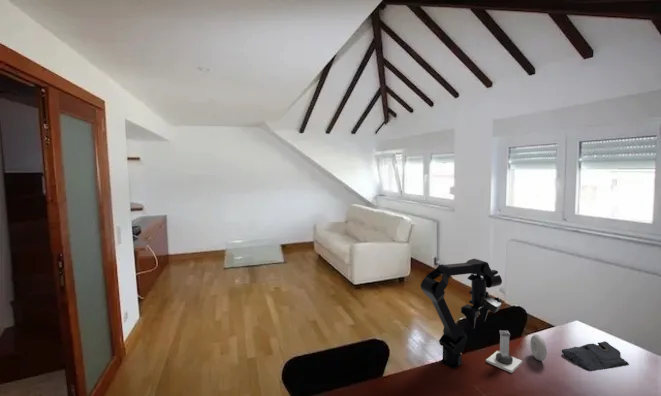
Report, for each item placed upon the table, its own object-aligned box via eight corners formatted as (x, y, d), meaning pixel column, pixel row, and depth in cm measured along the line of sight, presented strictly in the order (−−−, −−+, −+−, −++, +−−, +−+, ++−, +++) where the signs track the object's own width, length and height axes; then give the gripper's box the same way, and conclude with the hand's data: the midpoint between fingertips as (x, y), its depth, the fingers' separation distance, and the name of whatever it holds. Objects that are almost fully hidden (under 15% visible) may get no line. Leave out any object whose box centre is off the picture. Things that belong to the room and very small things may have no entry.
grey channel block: (514, 365, 131) (515, 336, 130) (498, 363, 132) (499, 335, 131) (509, 356, 137) (510, 329, 136) (494, 355, 138) (494, 328, 137)
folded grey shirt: (554, 352, 142) (554, 341, 141) (595, 345, 146) (596, 335, 146) (588, 373, 127) (589, 362, 126) (633, 365, 131) (634, 354, 131)
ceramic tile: (486, 361, 135) (486, 359, 135) (497, 352, 142) (497, 350, 141) (511, 373, 128) (511, 370, 127) (522, 363, 134) (522, 360, 134)
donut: (547, 366, 131) (548, 342, 130) (538, 365, 132) (539, 341, 131) (537, 352, 141) (538, 330, 140) (528, 351, 142) (529, 329, 141)
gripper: (487, 301, 126) (486, 339, 128) (508, 288, 138) (507, 324, 140) (460, 293, 135) (459, 329, 136) (482, 282, 147) (481, 316, 148)
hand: (478, 325), depth 140 cm, fingers open, 9 cm apart
